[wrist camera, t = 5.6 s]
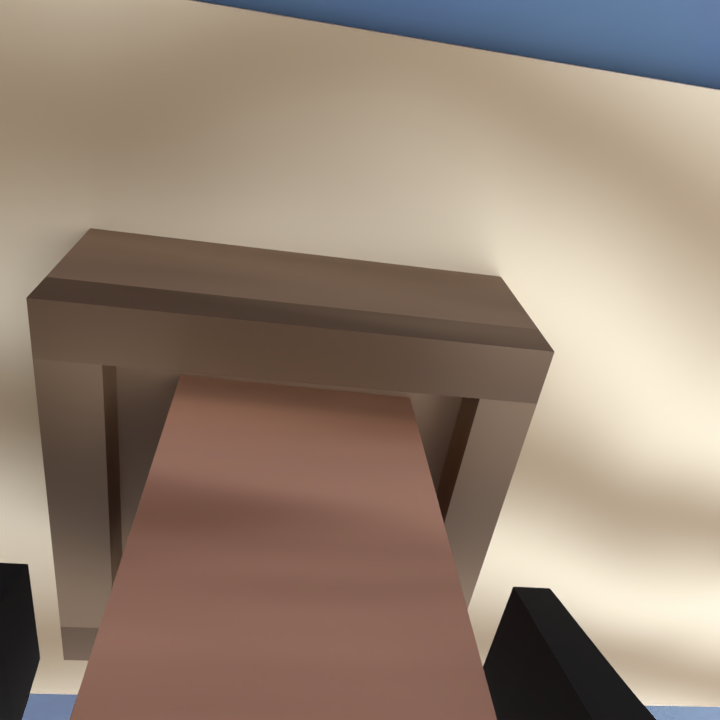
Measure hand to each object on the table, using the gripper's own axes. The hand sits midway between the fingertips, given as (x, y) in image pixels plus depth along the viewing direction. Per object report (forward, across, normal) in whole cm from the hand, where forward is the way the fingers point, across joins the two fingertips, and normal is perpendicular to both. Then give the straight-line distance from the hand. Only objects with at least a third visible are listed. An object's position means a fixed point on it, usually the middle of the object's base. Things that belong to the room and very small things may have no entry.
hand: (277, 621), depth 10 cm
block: (+3, 0, 0) cm, 3 cm away
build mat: (+6, -6, +1) cm, 8 cm away
